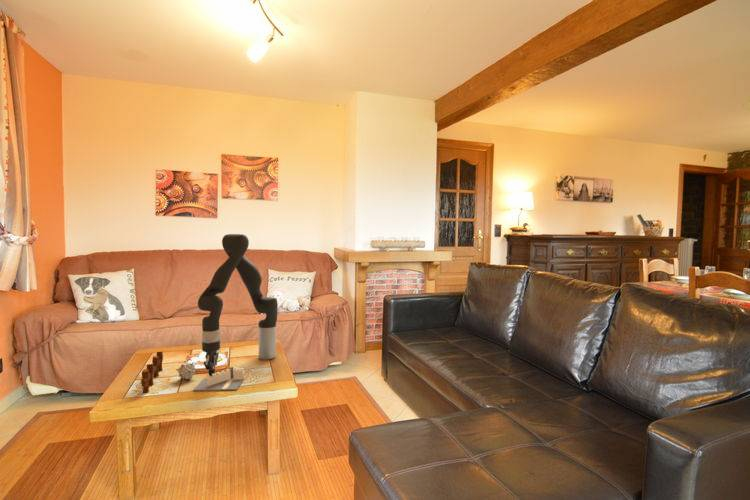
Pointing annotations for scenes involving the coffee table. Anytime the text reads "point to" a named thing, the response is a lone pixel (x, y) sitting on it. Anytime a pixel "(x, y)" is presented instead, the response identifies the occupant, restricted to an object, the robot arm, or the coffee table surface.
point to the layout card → (219, 385)
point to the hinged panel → (220, 377)
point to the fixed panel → (238, 373)
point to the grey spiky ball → (186, 371)
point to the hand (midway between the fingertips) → (211, 376)
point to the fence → (151, 372)
